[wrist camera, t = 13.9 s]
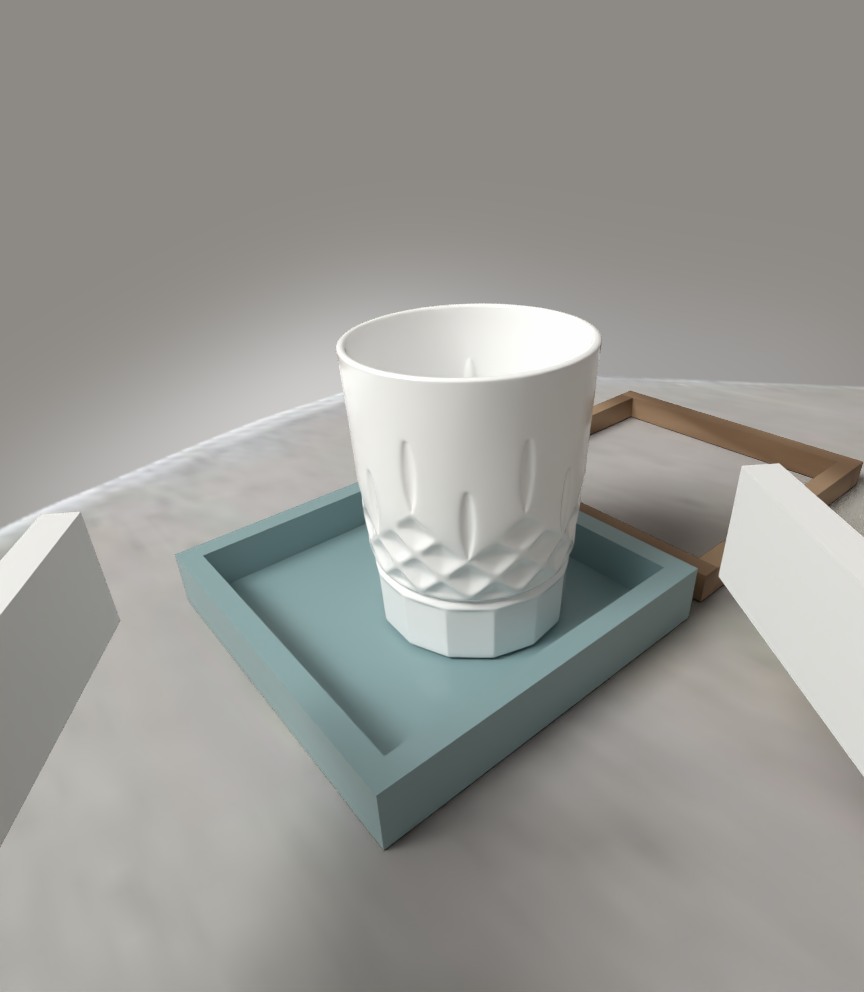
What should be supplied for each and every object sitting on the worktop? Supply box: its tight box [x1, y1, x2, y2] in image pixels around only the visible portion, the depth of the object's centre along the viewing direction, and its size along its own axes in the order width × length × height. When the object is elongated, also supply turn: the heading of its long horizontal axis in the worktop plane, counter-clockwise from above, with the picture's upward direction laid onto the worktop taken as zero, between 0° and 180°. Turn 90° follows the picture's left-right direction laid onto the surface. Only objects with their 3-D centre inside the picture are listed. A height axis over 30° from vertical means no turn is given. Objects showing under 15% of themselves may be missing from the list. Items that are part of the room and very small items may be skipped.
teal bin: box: [175, 482, 698, 850], centre depth 25 cm, size 14×14×2 cm
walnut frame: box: [579, 391, 863, 602], centre depth 33 cm, size 13×13×1 cm
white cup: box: [336, 304, 602, 658], centre depth 22 cm, size 8×8×10 cm
